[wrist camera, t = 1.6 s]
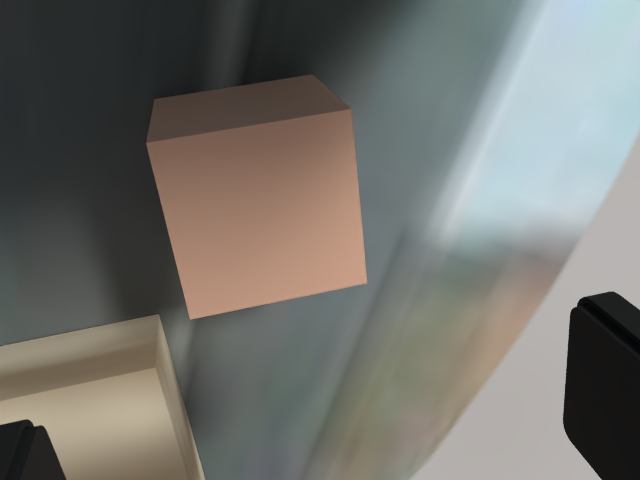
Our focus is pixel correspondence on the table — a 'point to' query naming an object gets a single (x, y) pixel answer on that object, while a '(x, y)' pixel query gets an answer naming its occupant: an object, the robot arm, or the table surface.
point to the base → (103, 401)
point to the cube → (258, 192)
